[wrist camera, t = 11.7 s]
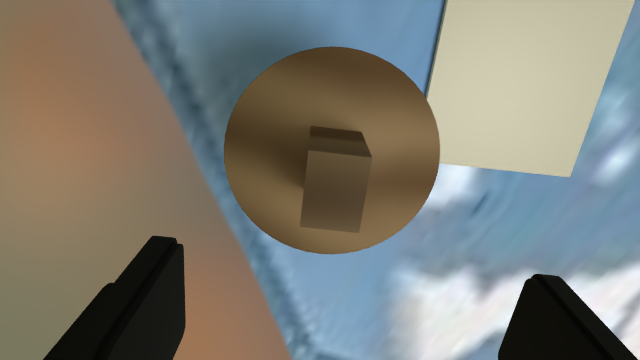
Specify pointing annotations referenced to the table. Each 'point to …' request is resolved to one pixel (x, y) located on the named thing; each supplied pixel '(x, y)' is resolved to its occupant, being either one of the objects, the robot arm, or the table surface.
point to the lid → (332, 150)
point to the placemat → (521, 80)
